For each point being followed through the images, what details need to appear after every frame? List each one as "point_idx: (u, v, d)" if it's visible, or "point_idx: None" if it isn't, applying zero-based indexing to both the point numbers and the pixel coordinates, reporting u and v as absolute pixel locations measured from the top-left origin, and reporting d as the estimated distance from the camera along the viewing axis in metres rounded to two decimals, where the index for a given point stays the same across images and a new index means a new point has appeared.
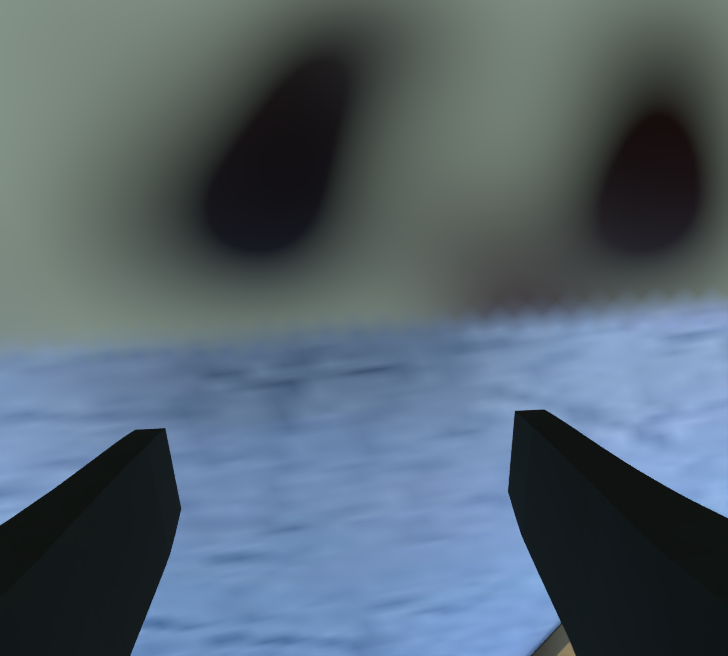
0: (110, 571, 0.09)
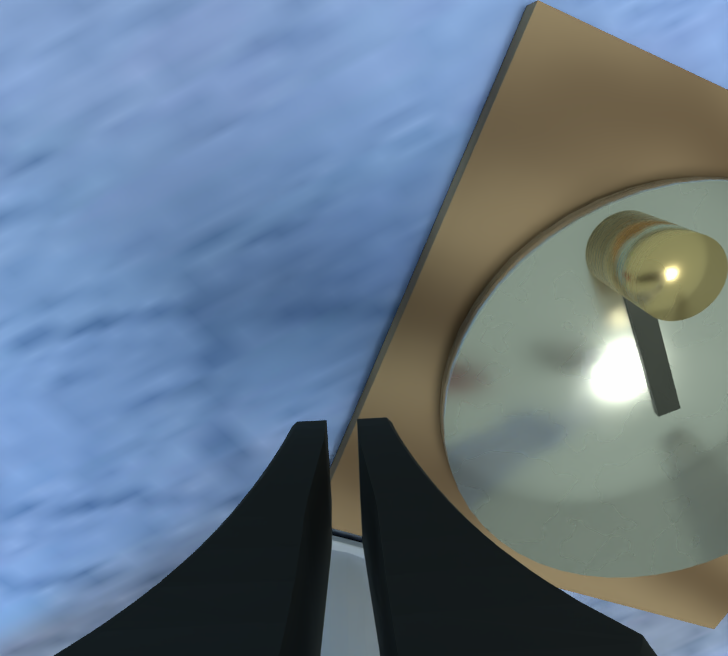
0: (315, 560, 0.09)
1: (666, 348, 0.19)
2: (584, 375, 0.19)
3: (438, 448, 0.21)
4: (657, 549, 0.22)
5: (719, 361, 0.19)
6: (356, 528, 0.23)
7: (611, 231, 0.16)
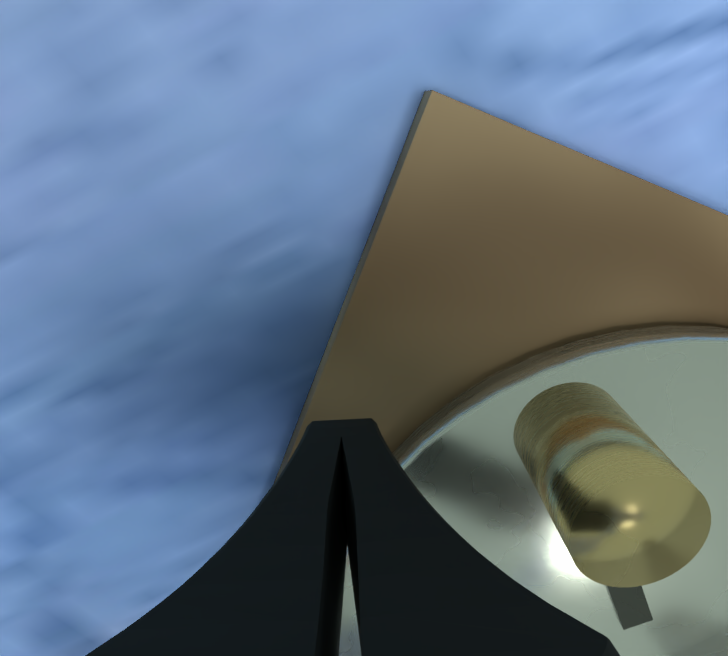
0: (335, 558, 0.09)
1: None
2: (520, 581, 0.14)
3: None
4: None
5: (705, 562, 0.14)
6: None
7: (544, 424, 0.11)
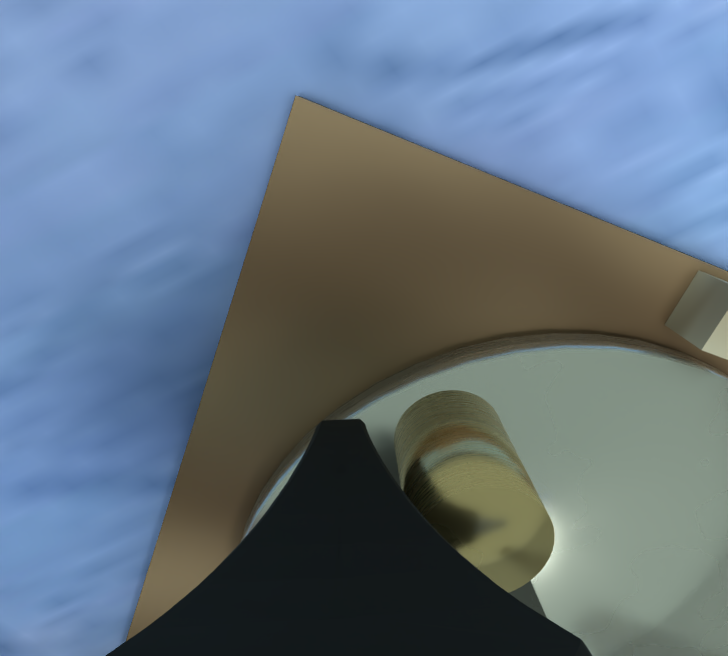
0: None
1: None
2: None
3: None
4: None
5: (601, 571, 0.14)
6: None
7: (412, 433, 0.11)
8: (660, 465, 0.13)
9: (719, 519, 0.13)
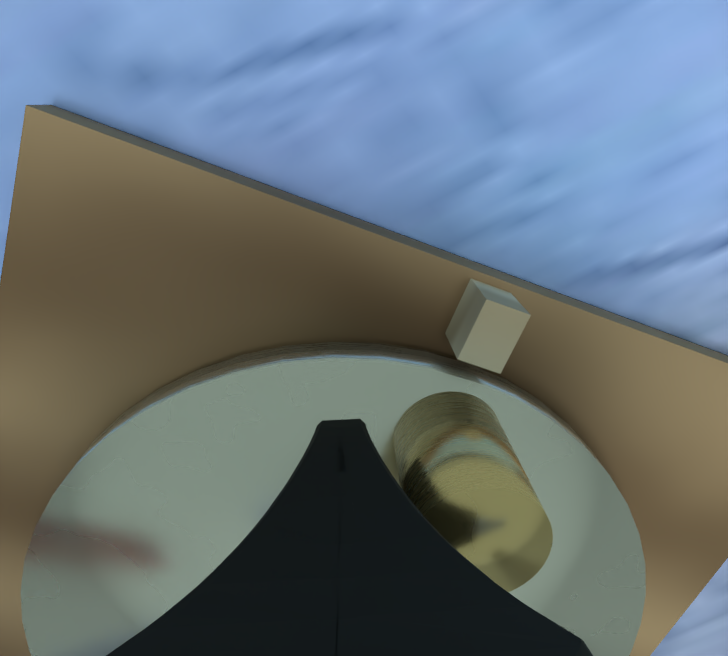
0: None
1: None
2: None
3: None
4: None
5: None
6: None
7: (453, 414, 0.11)
8: (548, 577, 0.14)
9: None
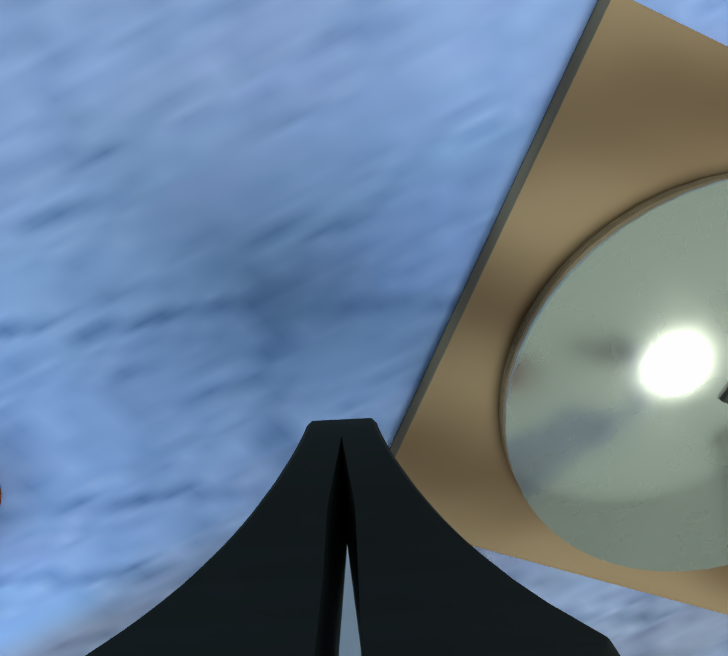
0: (335, 558, 0.09)
1: None
2: (719, 316, 0.18)
3: (495, 442, 0.21)
4: (594, 522, 0.22)
5: None
6: None
7: None
8: None
9: None
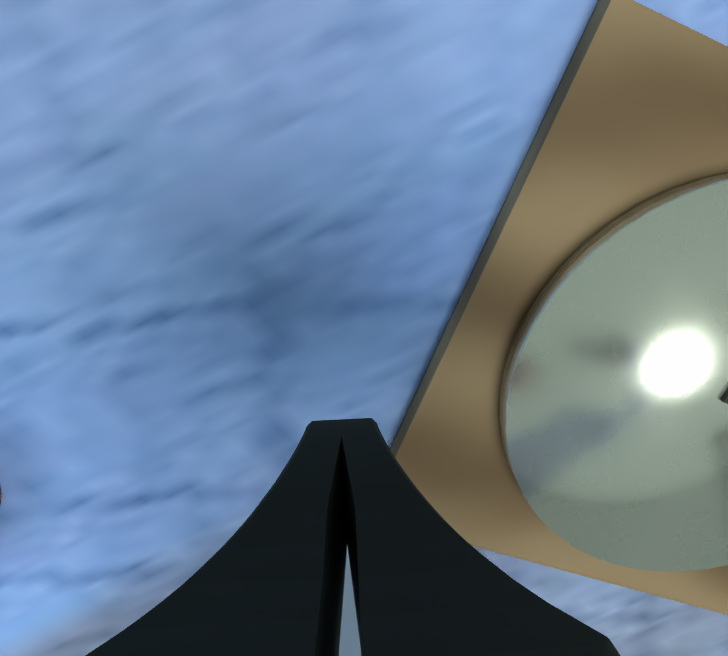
0: (335, 558, 0.09)
1: None
2: (719, 316, 0.18)
3: (495, 442, 0.21)
4: (594, 522, 0.22)
5: None
6: None
7: None
8: None
9: None
